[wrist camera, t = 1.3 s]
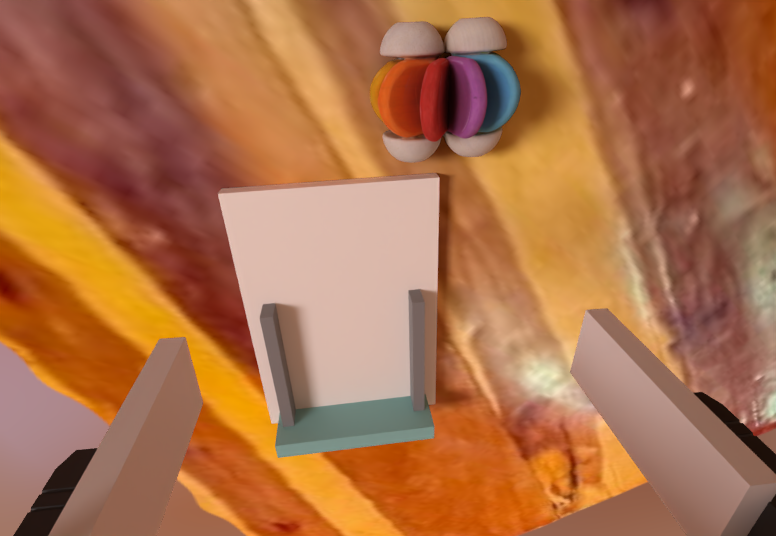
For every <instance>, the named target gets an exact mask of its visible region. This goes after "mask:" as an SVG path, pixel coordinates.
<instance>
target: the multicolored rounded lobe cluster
mask: <svg viewBox="0 0 776 536" xmlns="http://www.w3.org/2000/svg"><path fill="white" fill-rule="evenodd" d="M506 47H507V41H506V36H505V33H504V31H503V29H502V27H501V26H500V25H499V23H498V22H497V21H495V20H494V19H493V18H491V17H480V18H464V19H460V20H458V21H457V22H456V23H455V24H454V25H453V26H452V27H451V28H450V29H449V31H448V33H447V34H446V36H445V39H444V42H443V41H442V39H441V36H440V34H439V33H438V31H437V30H436V29H435V27H434V26H433V25H431V24H430V23H428V22H400V23H396V24H394V25H393V26H392V27H391V28H390V29H389V30H388V31H387V33H386V34H385V36H384V38H383V41H382V44H381V48H380V54H381V55H382V56H389V57H397V59H395V60H392V61H389V62H387V64H386V65H385V66H383V67H382V68H381V69H380V70H379V71H378V72H377V74H376V75H375V77H374V79H373V81H372V83H371V87H370V101H371V105H372V107H373V109H374V111H375V113H376V115H377V116H378V117H379V118H380V119H381V120H382V122H383V123H385V125H386V126H387V127H388V128H389V129H390V130H388V131H386V132H384V134H383V140H384V144H385V146H386V148H387V150H388V151H389V152H390V153H391V155H392V156H394V157H395V158H396V159H398V160H400V161H404V162H420V161H424V160H426V159H427V158H429V157H430V156H431V155H432V154H433V153H434V152H435V151H436V149H437V148H438V146H439V144H440V141H441V137H442V136H444V138H445V140H446V143H447V144H448V146H449V147H450V148H451V149H452V150H453V151H454V152H455V153H457V154H459V155H461V156H465V157H478V156H482V155H484V154H486V153H488V152H489V151H491V150H492V149H493V148H494V147H495V146H496V144H497V143H498V141H499V139H500V137H501V135H502V127H501V126H503V125H504V124H505V123H506V122H507V121H508V120H509V119H510V118H511V117H512V115H513V114H514V112H515V111H516V108H517V106H518V103H519V99H520V94H521V89H520V83H519V80H518V77H517V75H516V73H515V71H514V69H513V68H512V66H511V65H510V64H509V63H508V62H507V61H506V60H505V59H503V58H502V57H501V56H500V55H498V54H496V53H493V52H492V51H497V50H503V49H505V48H506ZM443 53H451V54H452V56H449V57H447V58H446V59H445V58H439V57H440V56H441V55H442V54H443ZM438 58H439V59H438Z"/></svg>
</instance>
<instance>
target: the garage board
mask: <svg viewBox="0 0 776 536" xmlns="http://www.w3.org/2000/svg"><path fill="white" fill-rule="evenodd" d="M439 180H440V177H439V176H438V175H437V174H436V173H428V174H415V175H401V176H387V177H374V178H360V179H346V180H332V181H319V182H305V183H291V184H278V185H264V186H250V187H236V188H223V189H221V190H220V192H219V193H218V196H219V201H220V205H221V209H222V214H223V218H224V222H225V226H226V231H227V235H228V239H229V243H230V248H231V252H232V256H233V261H234V265H235V269H236V273H237V278H238V282H239V286H240V290H241V295H242V299H243V303H244V307H245V312H246V316H247V320H248V325H249V329H250V333H251V337H252V342H253V346H254V350H255V354H256V359H257V363H258V367H259V372H260V376H261V380H262V384H263V389H264V393H265V397H266V401H267V406H268V410H269V414H270V419H271V423H272V424H273V423H278V429H277V436H276V444H275V447H276V451H277V456H278V458H280V457H288V456H296V455H304V454H312V453H319V452H327V451H335V450H343V449H351V448H359V447H367V446H375V445H383V444H391V443H399V442H407V441H415V440H423V439H431V438H434V424H433V420H432V416H431V412H430V409H429V405H433V404H436V348H437V292H438V236H439Z"/></svg>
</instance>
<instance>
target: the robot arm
mask: <svg viewBox="0 0 776 536" xmlns="http://www.w3.org/2000/svg"><path fill="white" fill-rule="evenodd" d="M570 373H571V374H572V376H573V377H574V378H575V380H576V381H577V383H578V384H579V385H580V387H581V388H582V390H583V391H584V392H585V394H586V395H587V397H588V398H589V399H590V401H591V402H592V404H593V405H594V406H595V408H596V409H597V411H598V412H599V413H600V415H601V416H602V418H603V419H604V420H605V422H606V423H607V425H608V426H609V427H610V429H611V430H612V432H613V433H614V434H615V436H616V437H617V439H618V440H619V441H620V443H621V444H622V446H623V447H624V448H625V450H626V451H627V453H628V454H629V455H630V457H631V458H632V460H633V461H634V462H635V464H636V465H637V467H638V468H639V469H640V471H641V472H642V474H643V475H644V476H645V478H646V479H647V481H648V482H649V483H650V485H651V486H652V488H653V489H654V491H655V492H656V493H657V494H658V496H659V497H660V499H661V500H662V502H663V503H664V504H665V506H666V507H667V509H668V510H669V511H670V513H671V514H672V516H673V517H674V519H675V520H676V521H677V523H678V524H679V526H680V527H681V528H682V530H683V531H684V533H685V534H686V535H687V536H776V454H775V453H774V452H773V451H772V450H771V449H770V448H768V447H767V446H766V445H765V444H764V443H763V442H762V441H761V440H760V439H759V438H758V437H757V436H753V433H752V432H751V431H750V430H749V429H748V428H747V427H746V426H745V425H744V424H743V423H740V422H739V419H738V418H737V417H735V416H734V415H733V414H732V413H731V412H730V411H729V410H728V409H727V408H726V407H725V406H724V405H722V404H721V403H719V402H718V401H716V400H714V399H713V398H711V397H709V396H708V395H706V394H704V393H703V392H697V393H693V392H691V391H690V390H689V389H688V388H687V387H686V386H685V385H684V384H683V383H682V382H681V381H680V380H679V379H678V378H677V377H676V376H675V375H674V374H673V373H672V372H671V371H670V370H669V369H668V368H667V367H666V366H665V365H664V364H663V363H662V362H661V361H660V360H659V359H658V358H657V357H656V356H655V355H654V354H653V353H652V352H651V351H650V350H649V349H648V348H647V347H646V346H645V345H644V344H643V343H642V342H641V341H640V340H639V339H638V338H637V337H636V336H635V335H634V334H633V333H632V332H631V331H629V330H628V329H627V328H626V327H625V326H624V325H623V324H622V323H621V322H620V321H619V320H618V319H617V318H616V317H615V316H614V315H613V314H612V313H611V312H610V311H609V310H608V309H592V310H586V312H585V316H584V320H583V323H582V327H581V331H580V335H579V339H578V343H577V347H576V351H575V355H574V359H573V363H572V367H571V371H570ZM202 405H203V401H202V397H201V393H200V389H199V386H198V382H197V378H196V375H195V371H194V367H193V364H192V360H191V356H190V352H189V349H188V345H187V341H186V338H185V337H181V338H166V339H159V341H158V343H157V344H156V346H155V348H154V350H153V351H152V353H151V355H150V357H149V359H148V360H147V362H146V364H145V366H144V367H143V369H142V371H141V373H140V374H139V376H138V378H137V380H136V381H135V383H134V385H133V387H132V389H131V390H130V392H129V394H128V396H127V397H126V399H125V401H124V403H123V404H122V406H121V408H120V410H119V412H118V413H117V415H116V417H115V419H114V420H113V422H112V424H111V426H110V427H109V429H108V431H107V433H106V435H105V436H104V438H103V440H102V442H101V443H100V445H99V447H98V448H94V449H84V450H76V451H75V452H74V453H73V454H71V455H70V457H68V458H67V459H66V460H65V461H64V462H63V463H62V464H61V465H60V466H58V467H57V468H56V469H55V471H54V472H53V474H52V476H51V477H50V479H49V480H48V482H47V483H46V485H45V487H44V488H43V490H42V494H41V495H39V496H38V498H37V499H36V501H35V503H34V504H33V506H32V507H31V512H29V513H27V515H26V517H25V518H24V520H23V521H22V523H21V525H20V526H19V528H18V529H17V531H16V532H15V534H14V535H13V536H157V534H158V531H159V528H160V525H161V522H162V519H163V517H164V513H165V511H166V508H167V505H168V502H169V499H170V496H171V493H172V491H173V488H174V485H175V482H176V479H177V476H178V473H179V471H180V468H181V465H182V462H183V459H184V456H185V453H186V450H187V448H188V445H189V442H190V439H191V436H192V433H193V430H194V427H195V425H196V422H197V419H198V416H199V413H200V410H201V407H202Z"/></svg>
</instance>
